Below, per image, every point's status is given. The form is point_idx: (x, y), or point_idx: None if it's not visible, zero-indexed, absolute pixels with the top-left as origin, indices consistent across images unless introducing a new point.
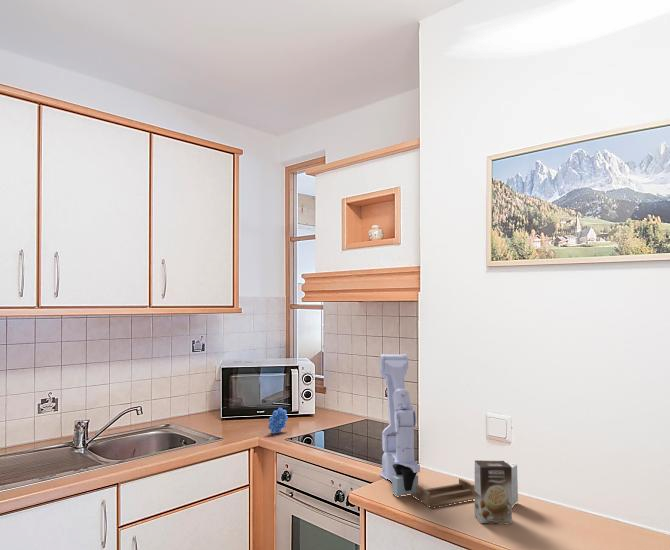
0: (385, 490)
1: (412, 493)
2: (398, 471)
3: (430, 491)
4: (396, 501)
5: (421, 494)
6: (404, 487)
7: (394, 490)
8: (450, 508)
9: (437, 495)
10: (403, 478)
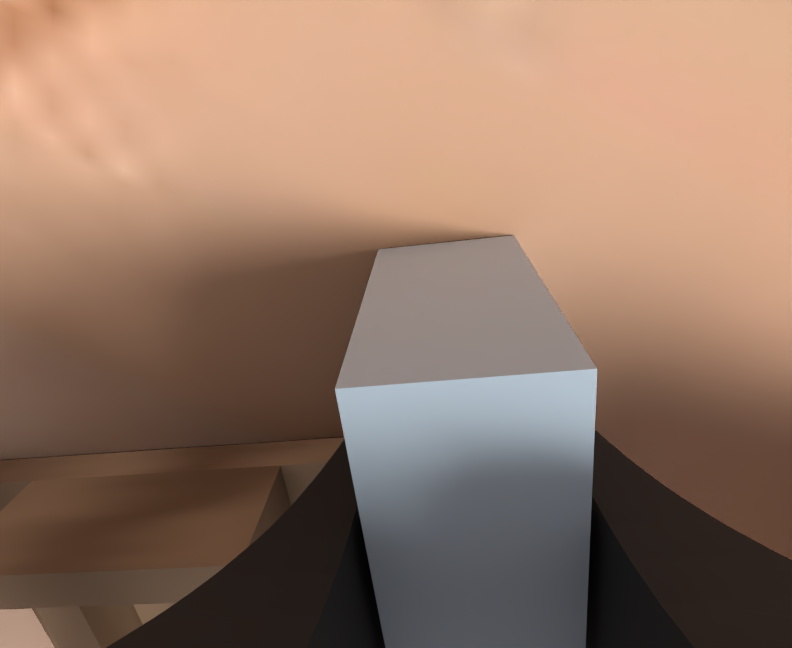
0: (719, 204)
1: None
2: (637, 606)
3: None
4: (256, 184)
5: (119, 517)
6: None
7: (456, 265)
8: None
9: (77, 638)
10: (345, 527)
